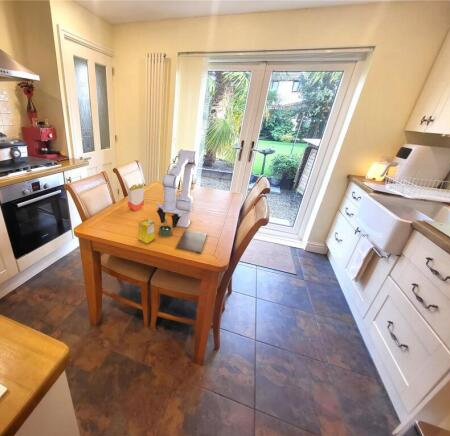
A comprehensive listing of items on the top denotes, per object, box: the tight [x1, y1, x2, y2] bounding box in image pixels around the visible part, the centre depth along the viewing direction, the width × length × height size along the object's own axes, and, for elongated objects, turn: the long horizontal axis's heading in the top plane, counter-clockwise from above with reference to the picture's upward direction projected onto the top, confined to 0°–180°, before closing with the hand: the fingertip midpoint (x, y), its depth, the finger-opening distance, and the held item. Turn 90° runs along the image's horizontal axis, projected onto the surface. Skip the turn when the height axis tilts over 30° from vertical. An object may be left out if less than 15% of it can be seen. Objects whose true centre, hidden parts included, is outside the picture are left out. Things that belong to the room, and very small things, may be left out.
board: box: [176, 229, 208, 255], centre depth 124 cm, size 20×12×1 cm, turn 162°
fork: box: [162, 218, 169, 231], centre depth 128 cm, size 2×3×9 cm
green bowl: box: [158, 224, 173, 238], centre depth 129 cm, size 7×7×4 cm
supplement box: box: [138, 218, 156, 245], centre depth 121 cm, size 6×6×11 cm
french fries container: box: [127, 183, 145, 211], centre depth 158 cm, size 5×11×18 cm, turn 137°
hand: (168, 224), depth 118 cm, fingers open, 7 cm apart
